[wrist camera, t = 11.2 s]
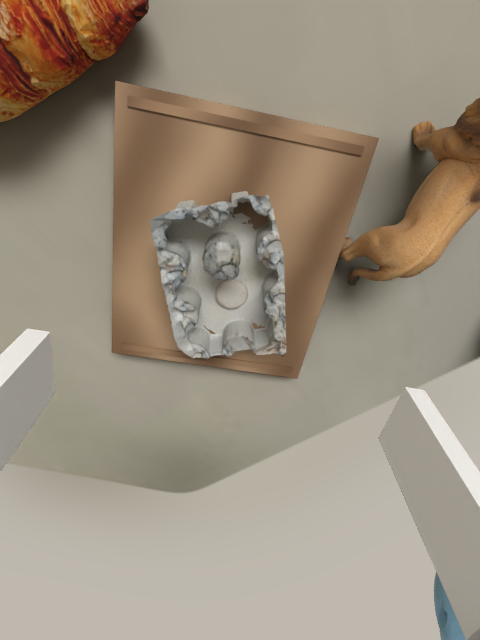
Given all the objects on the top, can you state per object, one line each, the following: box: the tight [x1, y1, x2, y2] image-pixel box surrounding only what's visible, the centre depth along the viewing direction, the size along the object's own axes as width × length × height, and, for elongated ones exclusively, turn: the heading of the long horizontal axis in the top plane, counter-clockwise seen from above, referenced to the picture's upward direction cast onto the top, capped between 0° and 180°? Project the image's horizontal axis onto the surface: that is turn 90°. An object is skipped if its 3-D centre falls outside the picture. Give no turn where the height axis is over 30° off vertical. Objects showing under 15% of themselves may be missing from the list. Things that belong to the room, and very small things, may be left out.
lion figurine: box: [339, 98, 480, 286], centre depth 20 cm, size 15×5×9 cm, turn 160°
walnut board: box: [112, 81, 379, 378], centre depth 25 cm, size 15×18×2 cm
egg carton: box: [150, 191, 286, 358], centre depth 23 cm, size 11×8×4 cm
